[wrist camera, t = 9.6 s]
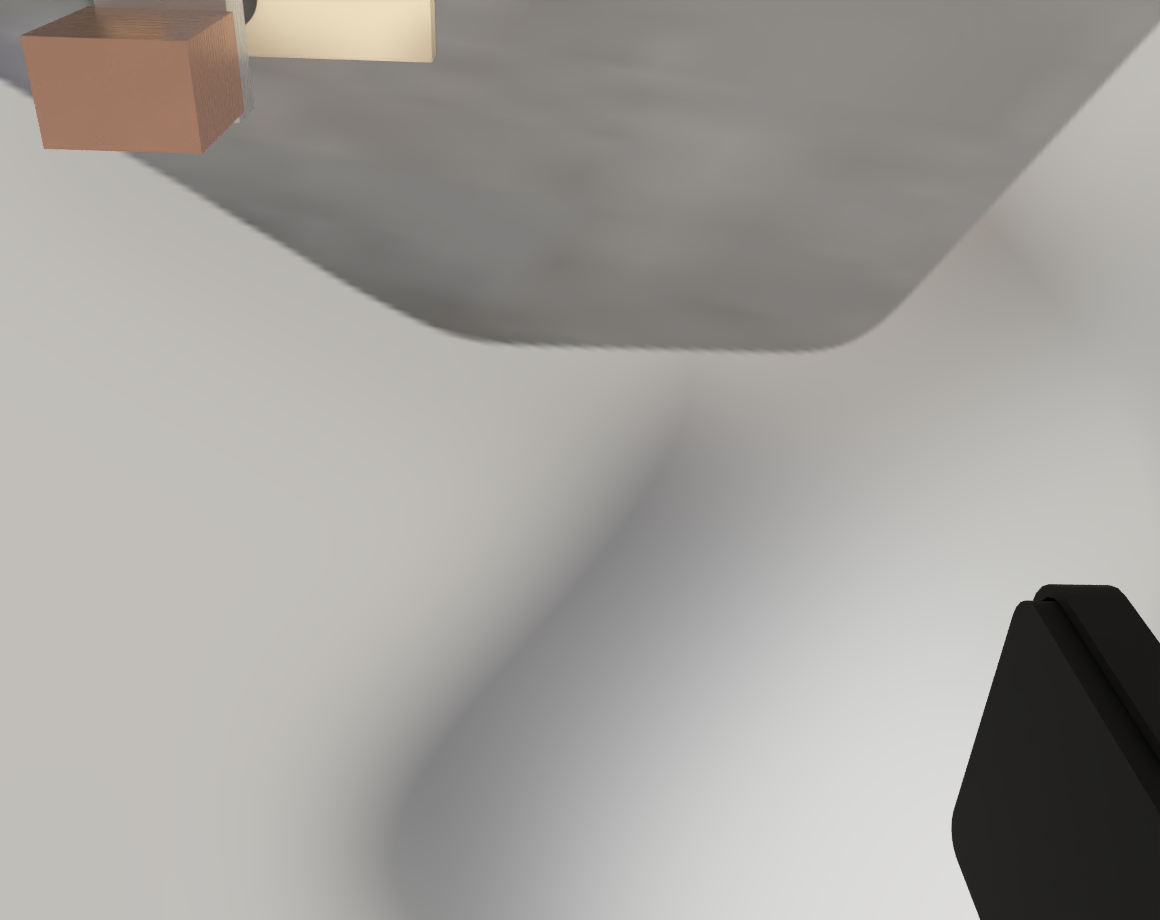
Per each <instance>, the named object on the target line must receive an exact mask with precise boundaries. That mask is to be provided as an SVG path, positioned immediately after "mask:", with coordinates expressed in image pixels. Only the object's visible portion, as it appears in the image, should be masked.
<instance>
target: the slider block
mask: <svg viewBox="0 0 1160 920" xmlns="http://www.w3.org/2000/svg"><path fill="white" fill-rule="evenodd" d="M93 1H94V7H90V6H88V7H86V8H83V9H81V10H79V11H76V12H74V13H72V14H70V15H67V16H65V17H63V18H60V19H58V20H56V21H53V22H51V23H49V24H46V25H44V26H42V27H39V28H37V29H35V30H32V31H30V32H28V33H26V34H23V35H21V36H20V37H21V42H22V46H23V51H24V56H25V61H26V65H27V70H28V75H29V80H30V84H31V89H32V94H33V99H34V103H35V108H36V113H37V117H38V122H39V127H40V132H41V136H42V141H43V146H44V149H70V150H102V151H104V150H105V151H134V152H166V153H198V154H202V153H203V152H204V151H205V150H206V149H207V148H208V147H209V146H210V145H211V144H212V143H213V142H214V141H215V140H216V139H217V138H218V137H219V136H220V135H221V134H222V133H223V132H224V131H225V130H226V129H227V128H228V127H229V126H230V125H231V124H232V123H240V122H241V121H242V120H243V119H244V118H245V117H246V116H247V115H248V114H249V113H250V112H251V111H252V110H253V109H254V101H253V92H252V83H251V74H250V65H249V56H248V47H247V38H246V29H245V20H244V11H243V2H242V0H93Z"/></svg>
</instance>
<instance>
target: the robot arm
mask: <svg viewBox="0 0 1160 920" xmlns="http://www.w3.org/2000/svg"><path fill="white" fill-rule="evenodd" d="M952 841H953V846H954V851H955V854H956V857H957V860H958V863H959V866H960V868H961V871H962V873H963V876H964V879H965V881H966V884H967V886H968V889H969V891H970V894H971V897H972V899H973V902H974V905H975V907H976V910H977V912H978V915H979V918H980V920H1160V643H1159V641H1158V640H1157V639H1156V637H1155V636H1154V635H1153V633H1152V632H1151V630H1150V629H1149V628H1148V626H1147V625H1146V624H1145V622H1144V621H1143V619H1142V618H1141V617H1140V615H1139V614H1138V613H1137V611H1136V610H1135V608H1134V607H1133V606H1132V604H1131V603H1130V602H1129V600H1128V599H1127V597H1126V596H1125V595H1124V594H1123V593H1122V592H1121V591H1120V590H1119V589H1118V588H1116V587H1113V586H1110V585H1062V584H1061V585H1060V584H1059V585H1057V584H1049V585H1045V586H1042V587H1041V589H1040V590H1039V591H1038V592H1037V593H1036V595H1035V597H1034V599H1033V601H1023V602H1020V604H1019V605H1018V606H1017V607H1016V609H1015V611H1014V614H1013V617H1012V620H1011V623H1010V627H1009V630H1008V633H1007V636H1006V640H1005V643H1004V646H1003V650H1002V653H1001V656H1000V660H999V663H998V666H997V670H996V673H995V676H994V679H993V683H992V686H991V689H990V692H989V696H988V699H987V702H986V706H985V709H984V712H983V716H982V719H981V722H980V726H979V729H978V732H977V735H976V739H975V742H974V745H973V749H972V752H971V755H970V759H969V762H968V765H967V768H966V772H965V775H964V778H963V782H962V785H961V789H960V792H959V795H958V798H957V802H956V805H955V808H954V811H953V817H952Z"/></svg>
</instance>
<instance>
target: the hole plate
mask: <svg viewBox="0 0 1160 920" xmlns="http://www.w3.org/2000/svg"><path fill="white" fill-rule="evenodd" d="M242 2H243V11H244V20H245V29H246V38H247V47H248V56H260V57H289V58H318V59H347V60H376V61H405V62H432V61H433V59H434V57H435V55H436V39H435V4H434V0H242Z"/></svg>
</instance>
